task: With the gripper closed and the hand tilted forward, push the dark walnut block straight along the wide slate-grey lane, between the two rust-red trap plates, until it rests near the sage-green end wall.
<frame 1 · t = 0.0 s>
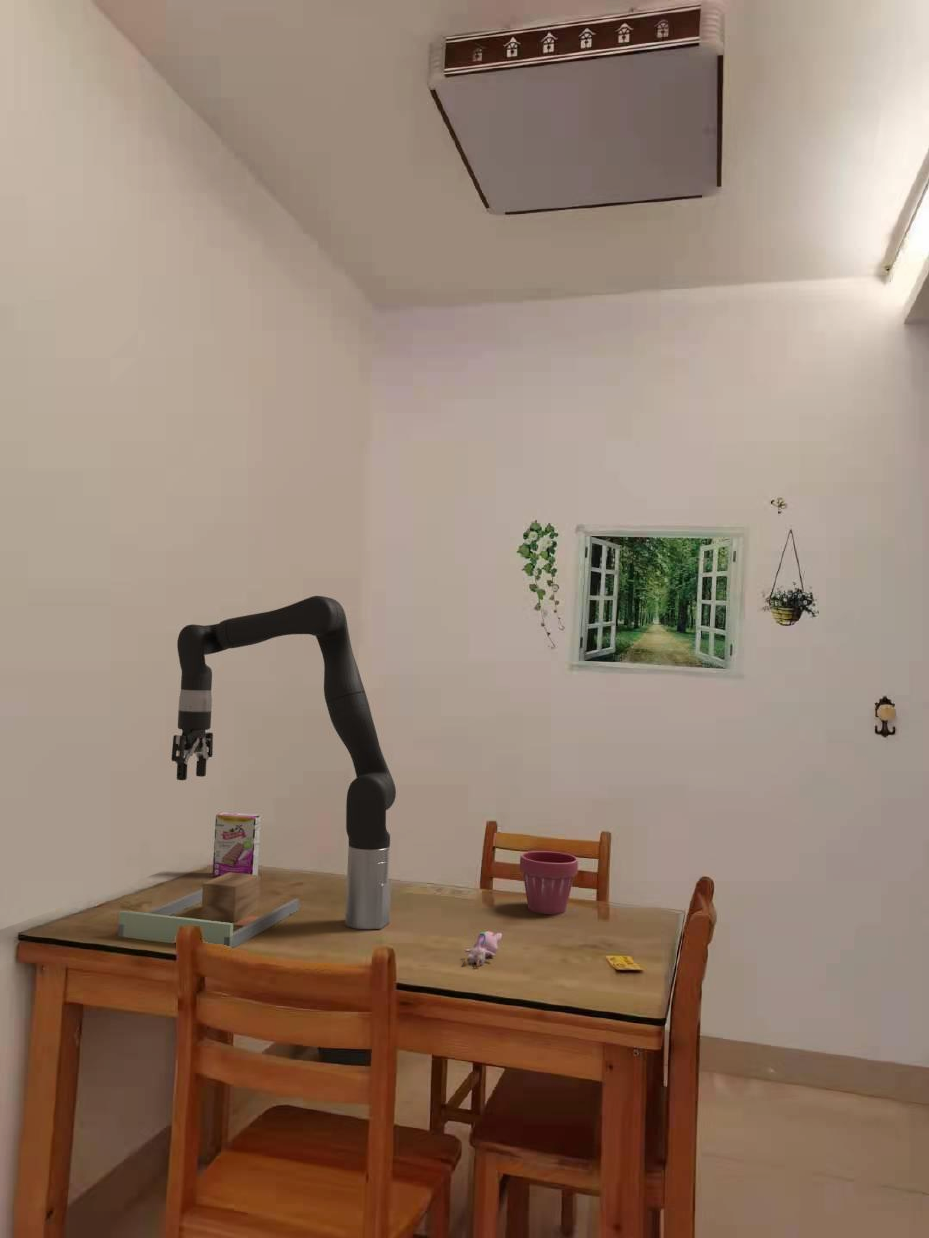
hand: (191, 778, 221), 29 cm above the table, tool pointing down, fingers open, 8 cm apart
plant pot: (547, 910, 228), on the table
walnut block: (230, 914, 213), on the table
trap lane: (213, 922, 205), on the table
candy bar box: (235, 877, 250), on the table
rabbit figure: (483, 958, 189), on the table
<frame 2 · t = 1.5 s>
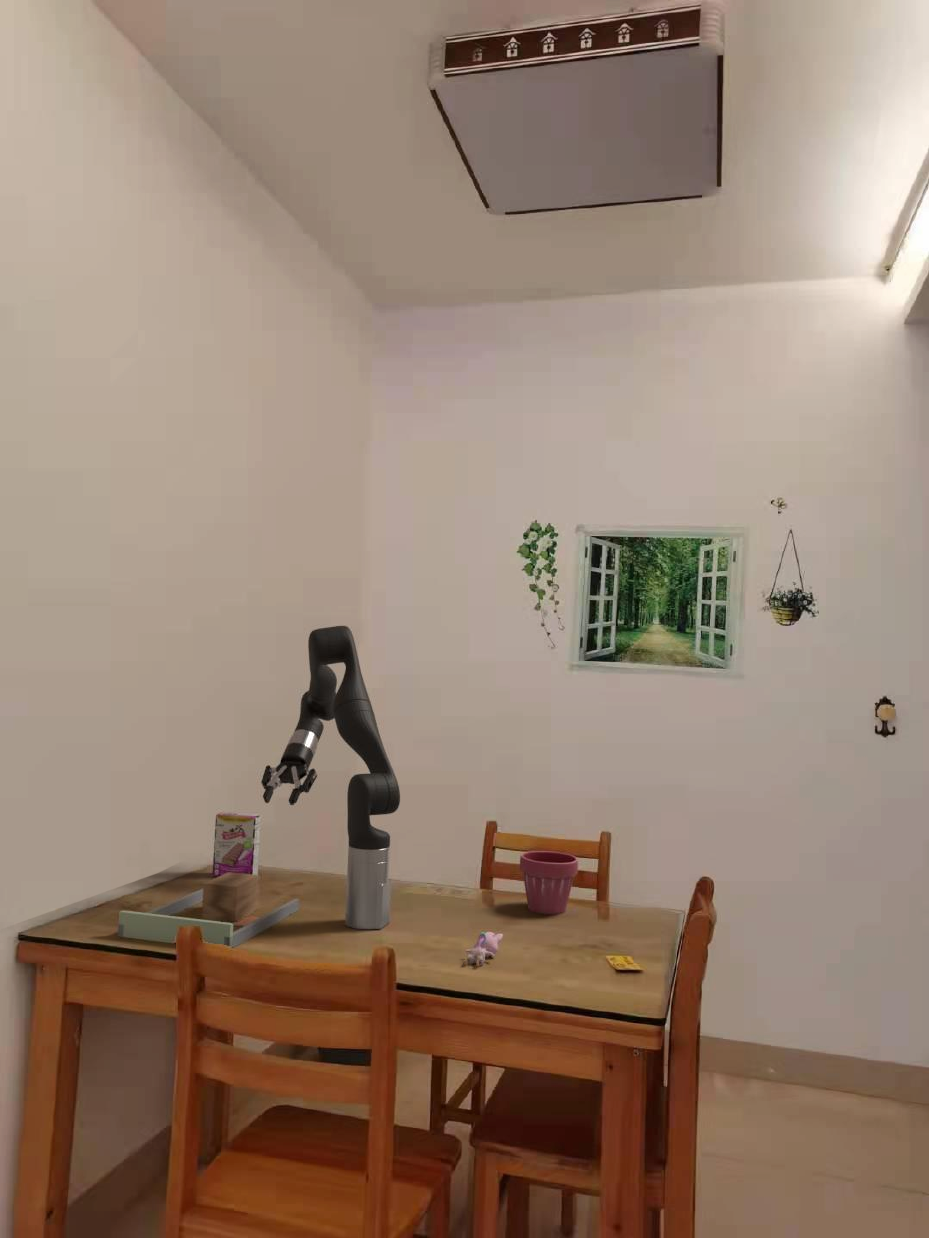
hand: (278, 801, 235), 22 cm above the table, tool tilted 45°, fingers open, 6 cm apart
nothing on the table moved.
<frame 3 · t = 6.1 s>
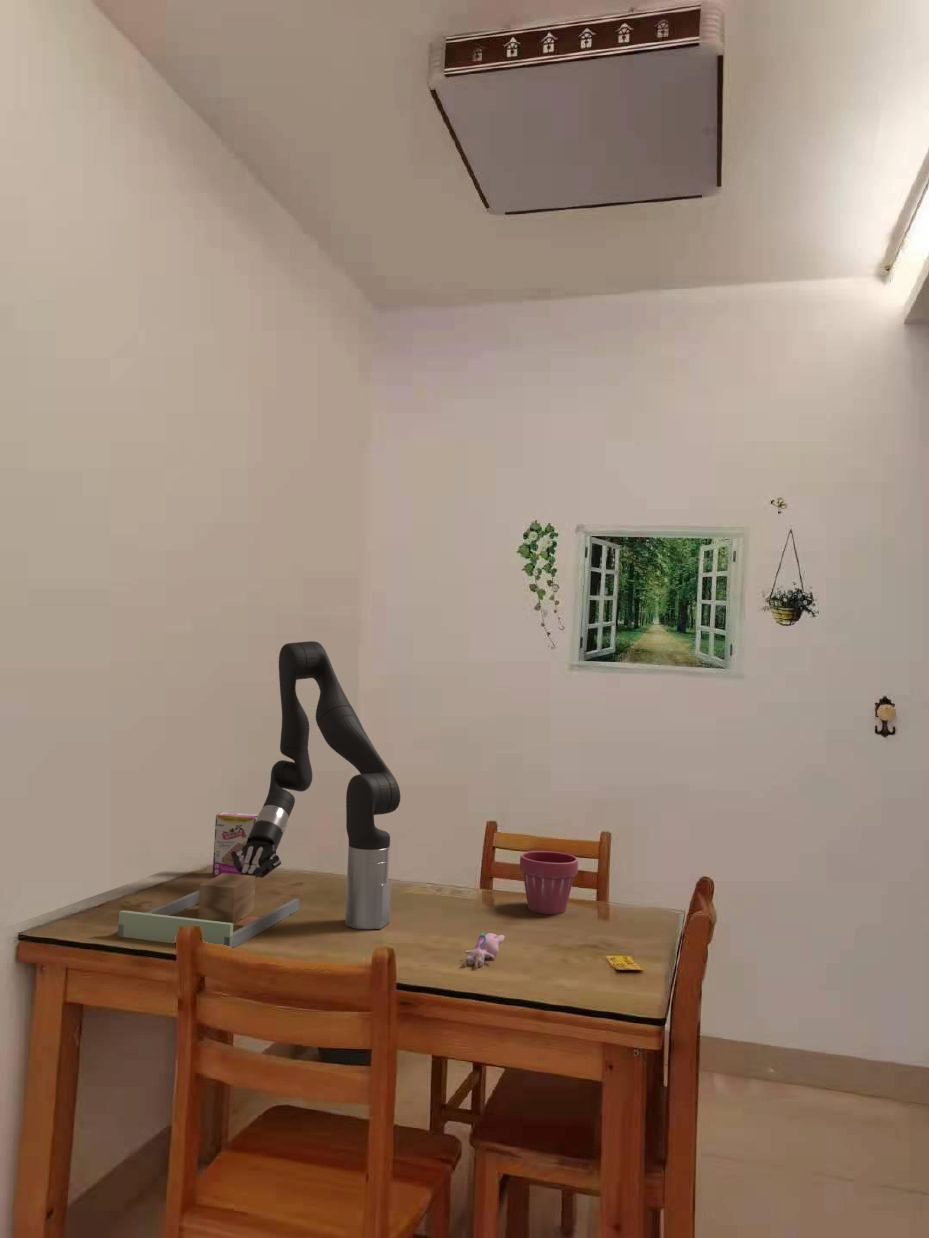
hand: (242, 890, 218), 4 cm above the table, tool tilted 45°, fingers closed
walnut block: (226, 916, 211), on the table
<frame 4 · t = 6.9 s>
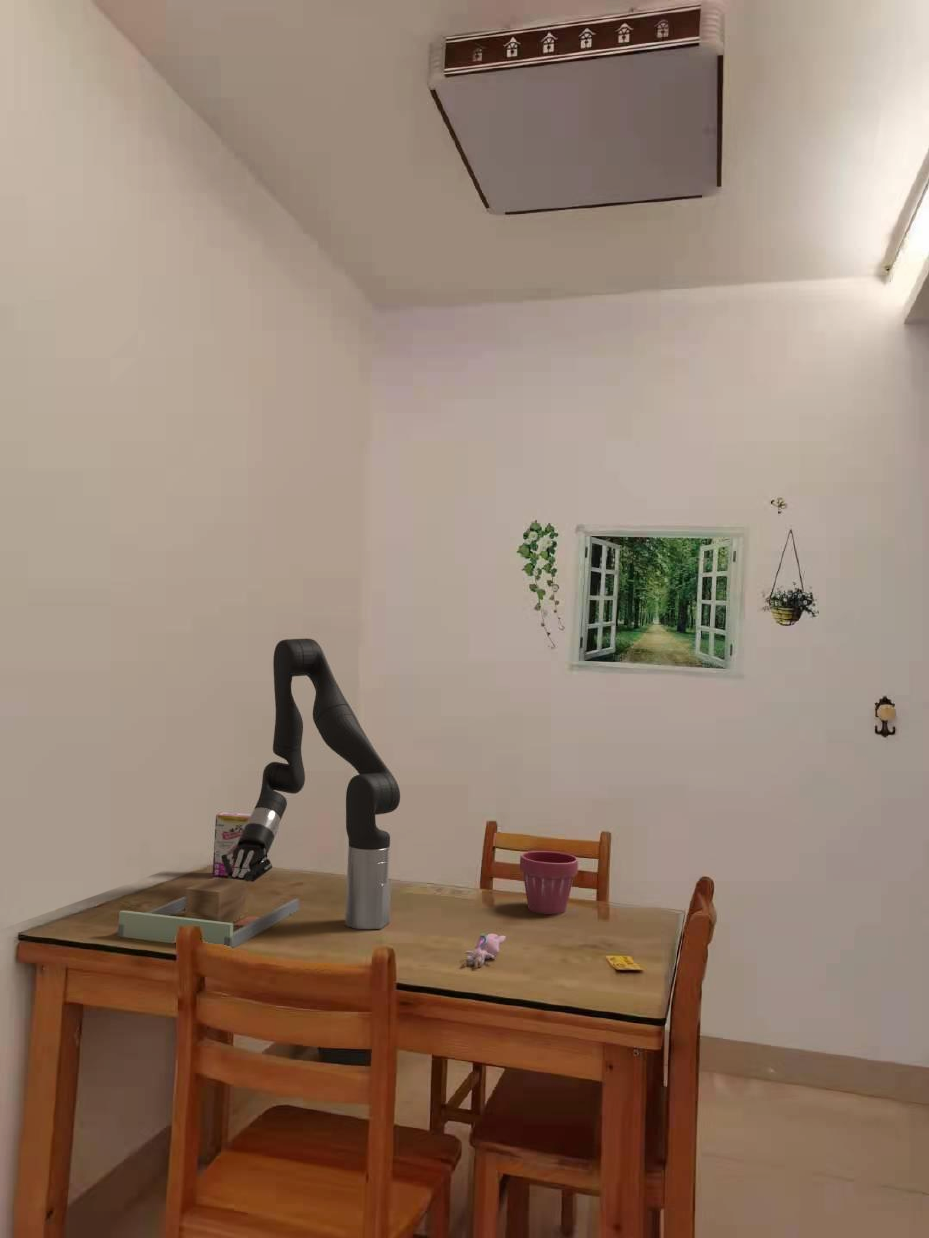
hand: (232, 894, 213), 4 cm above the table, tool tilted 45°, fingers closed
walnut block: (214, 921, 207), on the table, touching gripper
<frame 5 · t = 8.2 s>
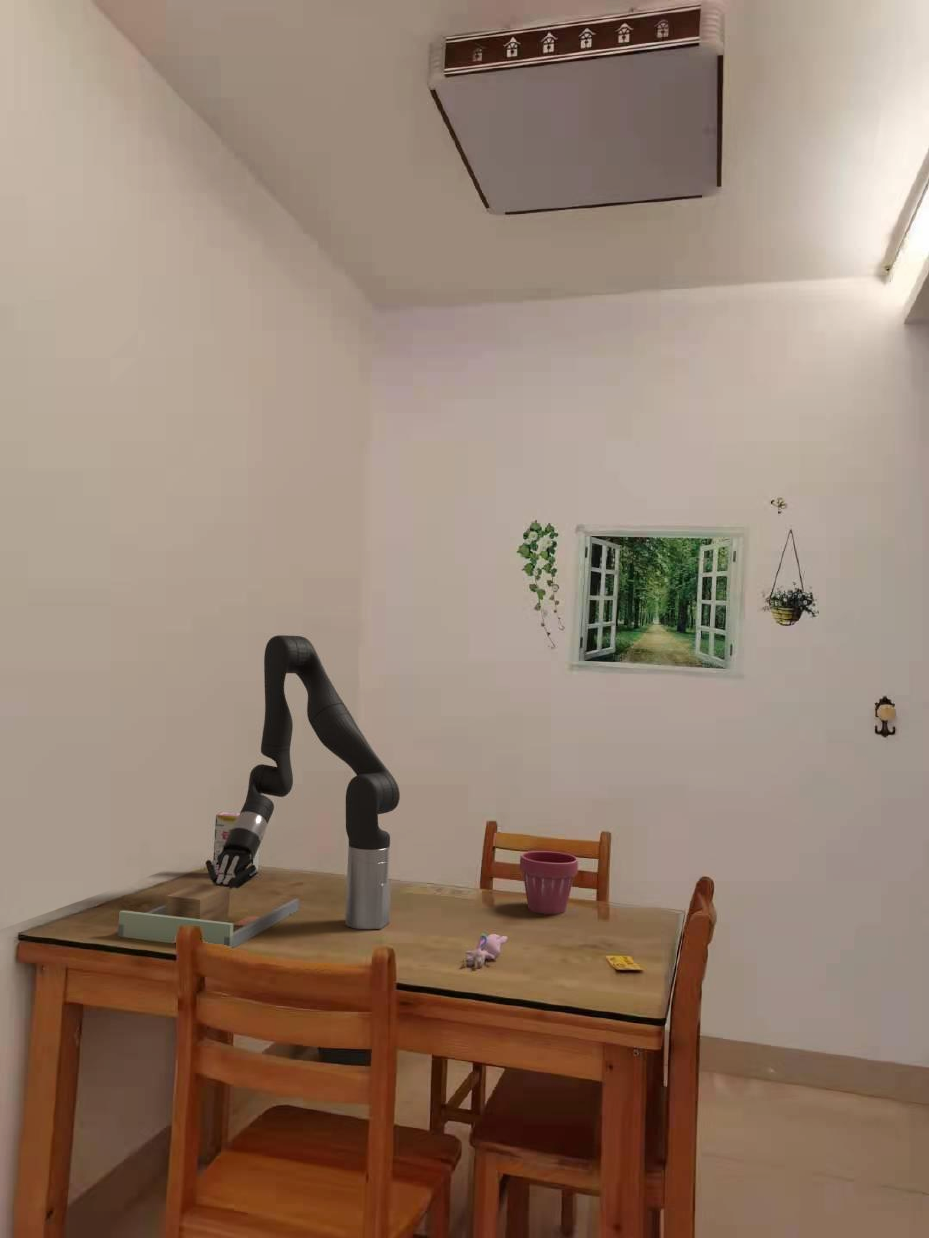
hand: (216, 901, 206), 4 cm above the table, tool tilted 45°, fingers closed
walnut block: (196, 929, 200), on the table, touching gripper
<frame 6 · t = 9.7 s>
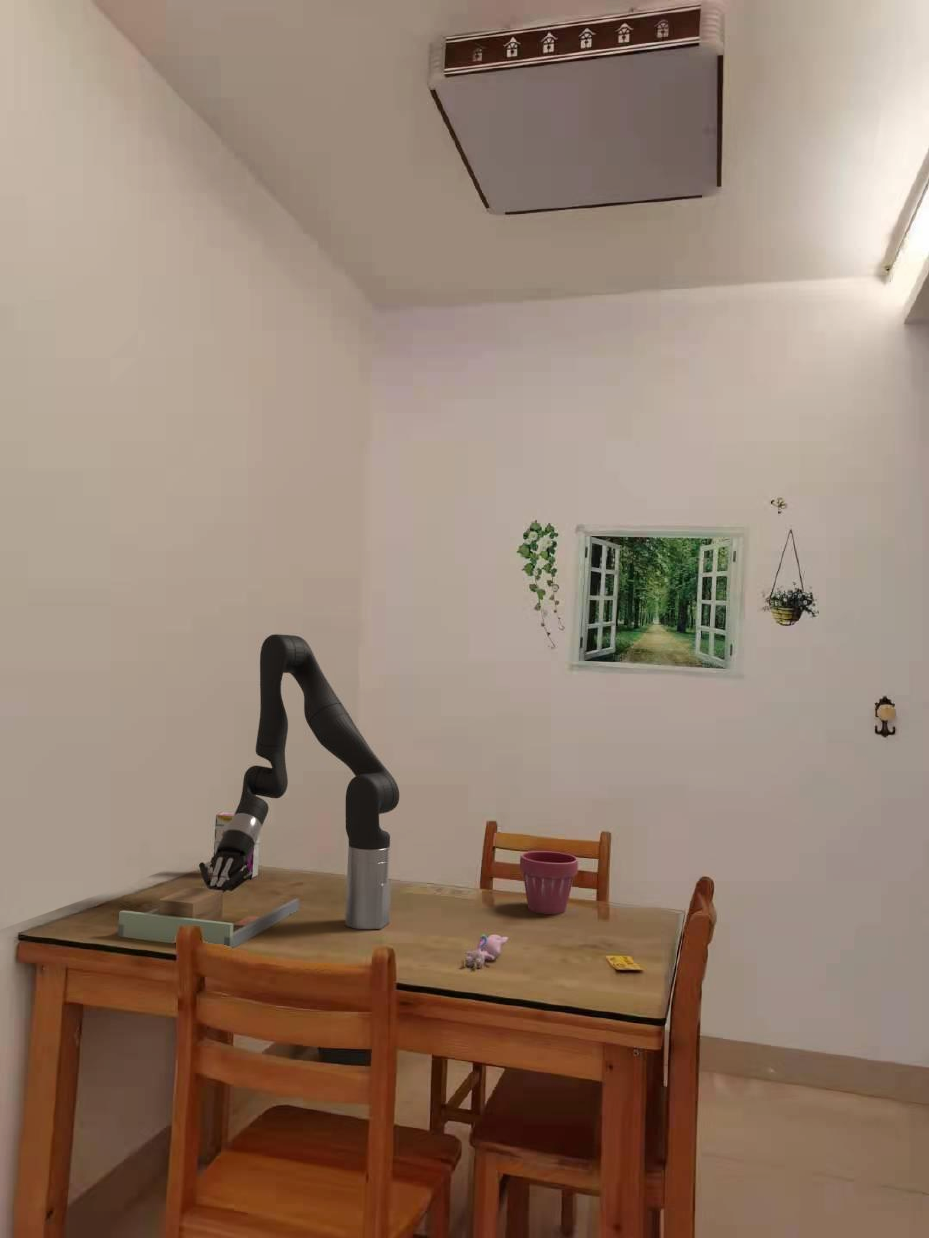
hand: (210, 904, 204), 4 cm above the table, tool tilted 45°, fingers closed
walnut block: (189, 933, 197), on the table, touching gripper
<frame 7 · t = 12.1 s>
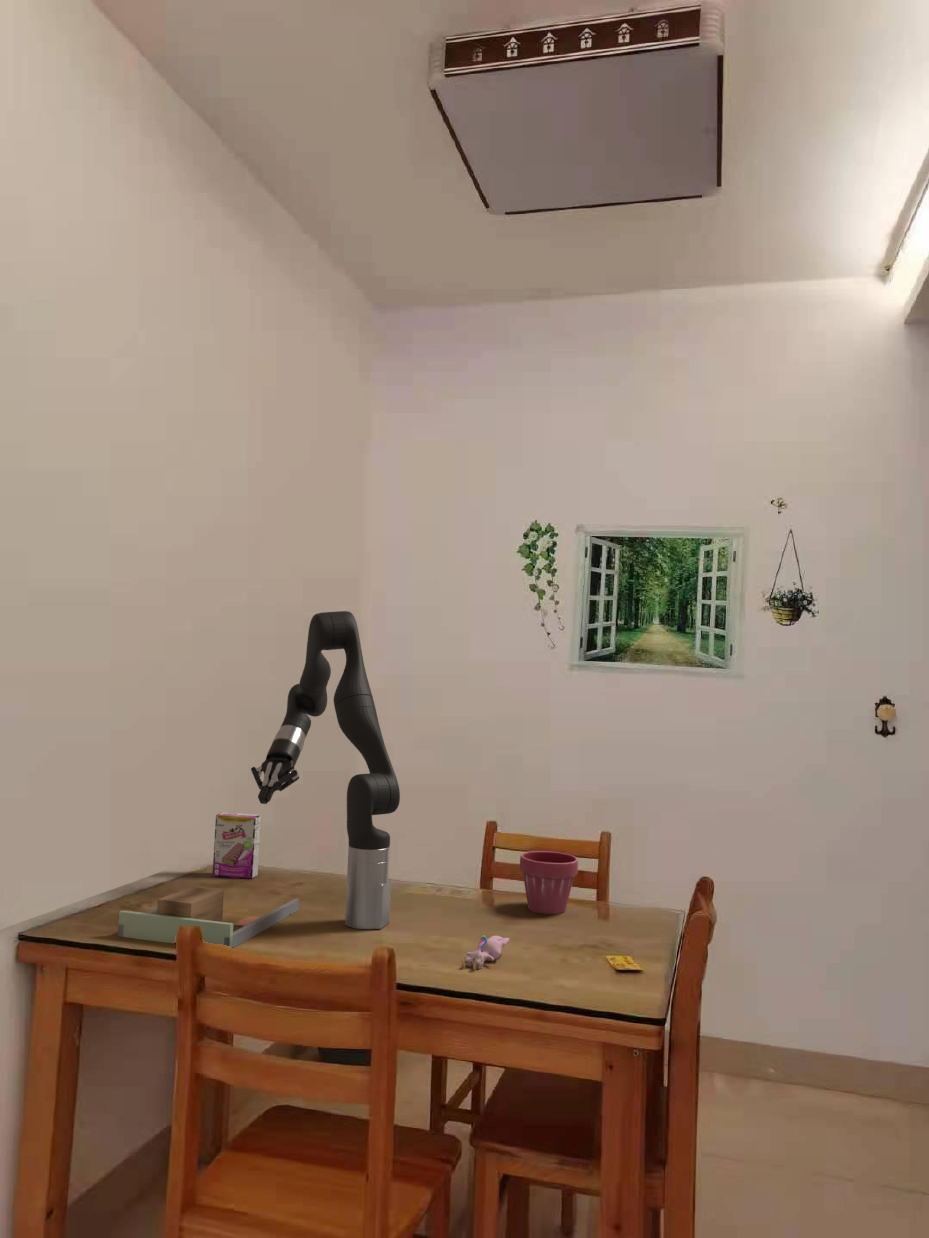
hand: (262, 801, 227), 24 cm above the table, tool tilted 45°, fingers closed
walnut block: (189, 933, 197), on the table
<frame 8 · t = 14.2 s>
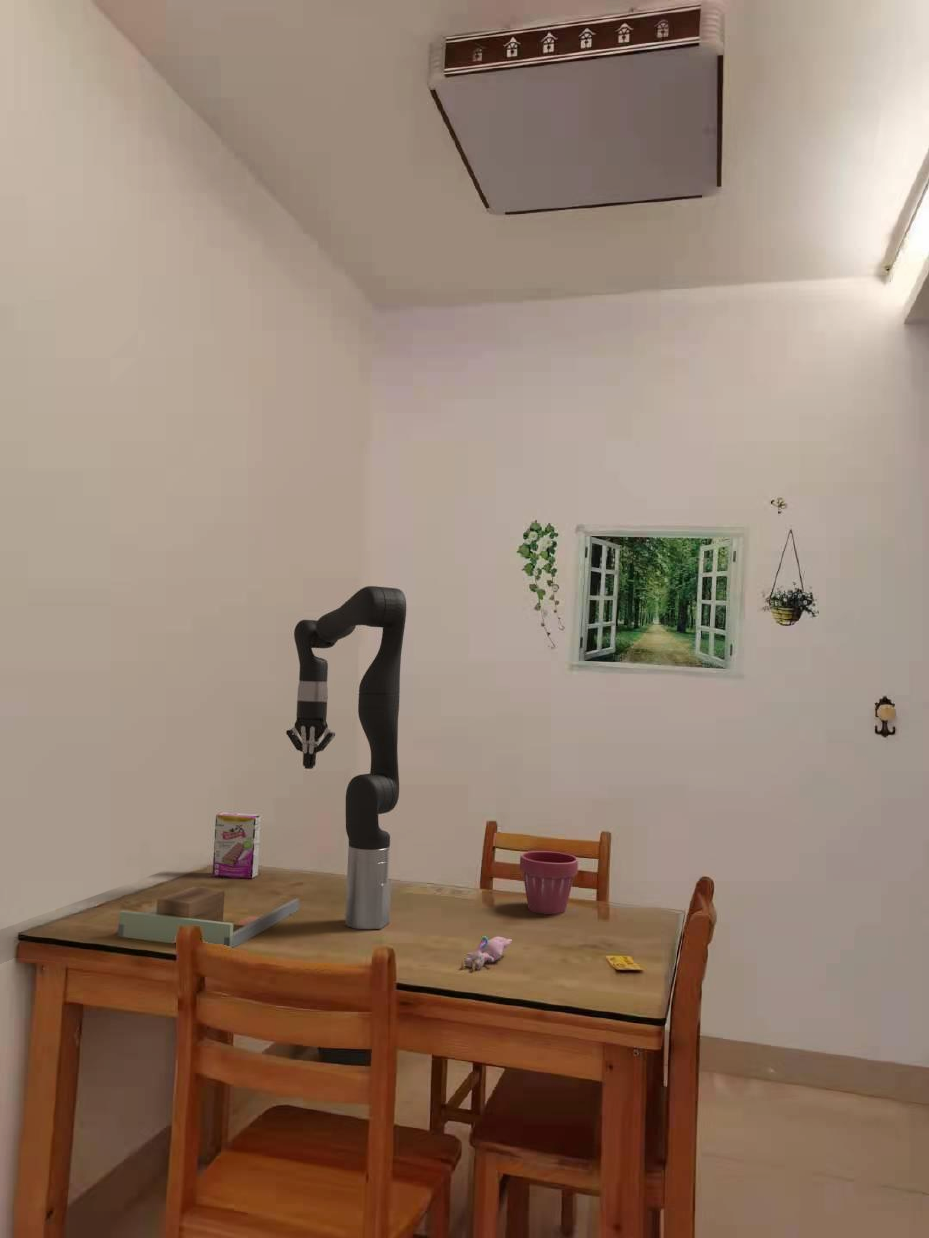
hand: (309, 768, 236), 31 cm above the table, tool pointing down, fingers closed
at the end: walnut block inside the target area (0.9 cm from its centre), on the table; walnut block tilted 0°; walnut block moved 16.2 cm from its start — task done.
